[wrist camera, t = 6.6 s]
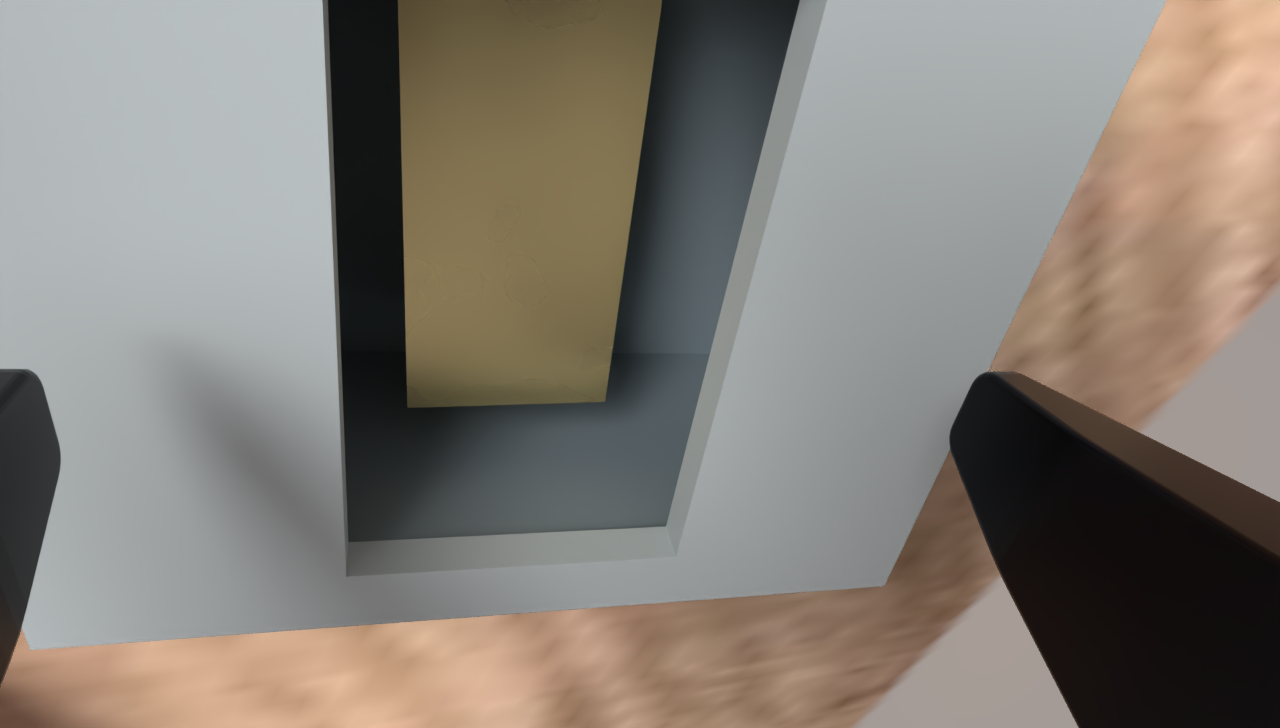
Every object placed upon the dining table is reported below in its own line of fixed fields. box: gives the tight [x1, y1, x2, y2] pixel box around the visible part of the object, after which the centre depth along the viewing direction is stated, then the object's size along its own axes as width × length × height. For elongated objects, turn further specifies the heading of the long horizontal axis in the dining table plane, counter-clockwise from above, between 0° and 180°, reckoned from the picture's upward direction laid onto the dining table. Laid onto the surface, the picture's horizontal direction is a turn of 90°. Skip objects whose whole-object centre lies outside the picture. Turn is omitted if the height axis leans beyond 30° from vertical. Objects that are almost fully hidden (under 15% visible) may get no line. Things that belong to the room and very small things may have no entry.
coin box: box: [0, 0, 1166, 650], centre depth 12 cm, size 12×10×6 cm
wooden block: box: [398, 0, 662, 408], centre depth 13 cm, size 3×6×3 cm, turn 172°
